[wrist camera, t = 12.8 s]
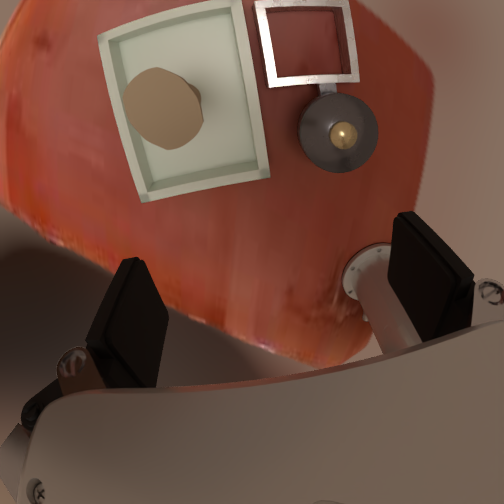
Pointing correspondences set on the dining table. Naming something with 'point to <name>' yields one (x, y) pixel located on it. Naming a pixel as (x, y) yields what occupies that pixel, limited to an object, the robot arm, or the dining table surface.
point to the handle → (163, 108)
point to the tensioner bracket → (325, 93)
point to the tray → (210, 87)
